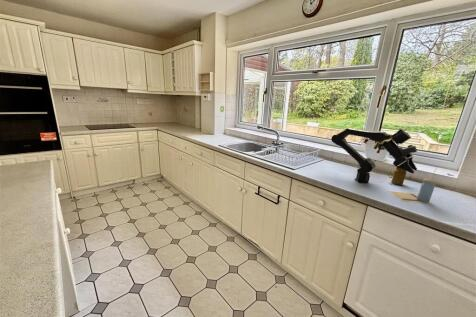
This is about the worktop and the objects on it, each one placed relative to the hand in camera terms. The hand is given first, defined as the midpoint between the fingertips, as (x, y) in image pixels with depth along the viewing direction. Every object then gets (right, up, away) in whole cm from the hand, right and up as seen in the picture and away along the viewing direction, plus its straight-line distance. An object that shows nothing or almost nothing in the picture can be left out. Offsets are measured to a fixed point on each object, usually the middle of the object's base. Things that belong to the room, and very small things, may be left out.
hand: (415, 171), depth 113 cm
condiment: (+6, -10, +20) cm, 23 cm away
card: (-3, -15, 0) cm, 15 cm away
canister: (+1, -16, -3) cm, 16 cm away
